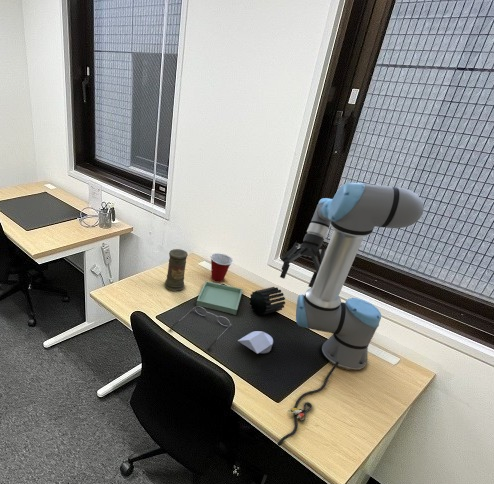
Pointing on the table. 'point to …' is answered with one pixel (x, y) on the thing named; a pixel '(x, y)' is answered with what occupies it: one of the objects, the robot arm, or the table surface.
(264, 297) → the pen pot
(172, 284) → the container
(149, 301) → the table surface
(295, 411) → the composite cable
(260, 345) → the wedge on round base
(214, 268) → the plastic cup
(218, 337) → the eyeglasses
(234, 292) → the desk tray
